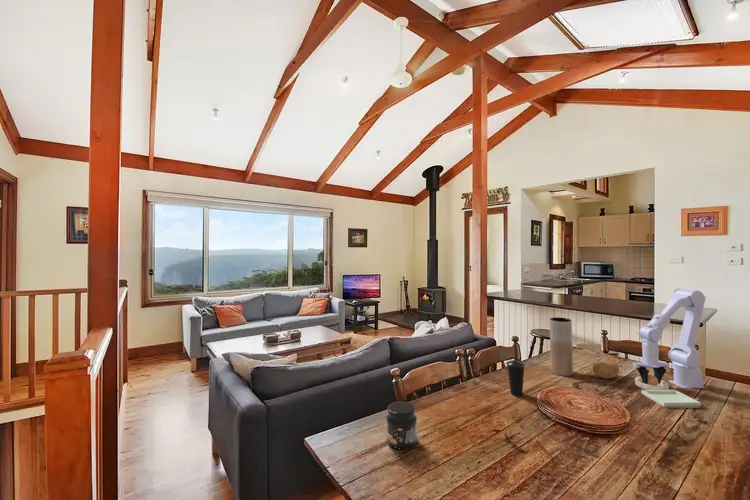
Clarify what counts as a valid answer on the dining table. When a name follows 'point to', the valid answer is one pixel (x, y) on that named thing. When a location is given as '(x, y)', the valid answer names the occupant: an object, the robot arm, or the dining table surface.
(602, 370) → the potato
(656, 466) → the dining table surface
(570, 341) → the vase
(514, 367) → the drinking cup
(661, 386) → the dish
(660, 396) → the tray
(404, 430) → the supplement container
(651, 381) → the ball
